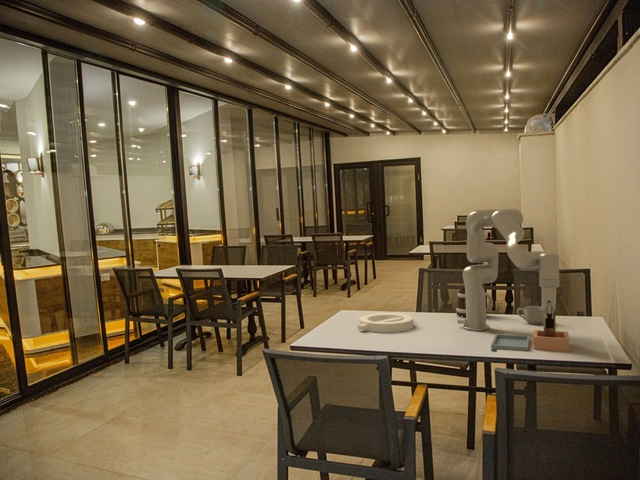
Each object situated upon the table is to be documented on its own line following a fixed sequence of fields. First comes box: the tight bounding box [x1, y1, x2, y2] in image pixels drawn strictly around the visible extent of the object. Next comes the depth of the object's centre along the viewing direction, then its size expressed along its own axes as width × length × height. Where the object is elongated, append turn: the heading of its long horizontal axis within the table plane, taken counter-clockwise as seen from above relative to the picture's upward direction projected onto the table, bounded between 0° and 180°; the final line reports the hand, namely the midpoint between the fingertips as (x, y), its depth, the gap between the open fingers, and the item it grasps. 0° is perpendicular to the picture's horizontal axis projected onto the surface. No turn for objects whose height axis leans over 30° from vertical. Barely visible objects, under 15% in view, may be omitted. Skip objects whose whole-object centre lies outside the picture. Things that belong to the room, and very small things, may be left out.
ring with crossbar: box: [357, 312, 414, 333], centre depth 257 cm, size 28×28×5 cm
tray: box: [490, 333, 530, 352], centre depth 208 cm, size 14×20×2 cm
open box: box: [532, 329, 570, 352], centre depth 201 cm, size 13×13×6 cm
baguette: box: [543, 312, 557, 337], centre depth 202 cm, size 4×4×11 cm
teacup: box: [516, 305, 546, 325], centre depth 250 cm, size 14×11×8 cm
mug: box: [456, 287, 494, 318], centre depth 275 cm, size 20×15×15 cm
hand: (549, 326), depth 202 cm, fingers closed on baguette, 4 cm apart
